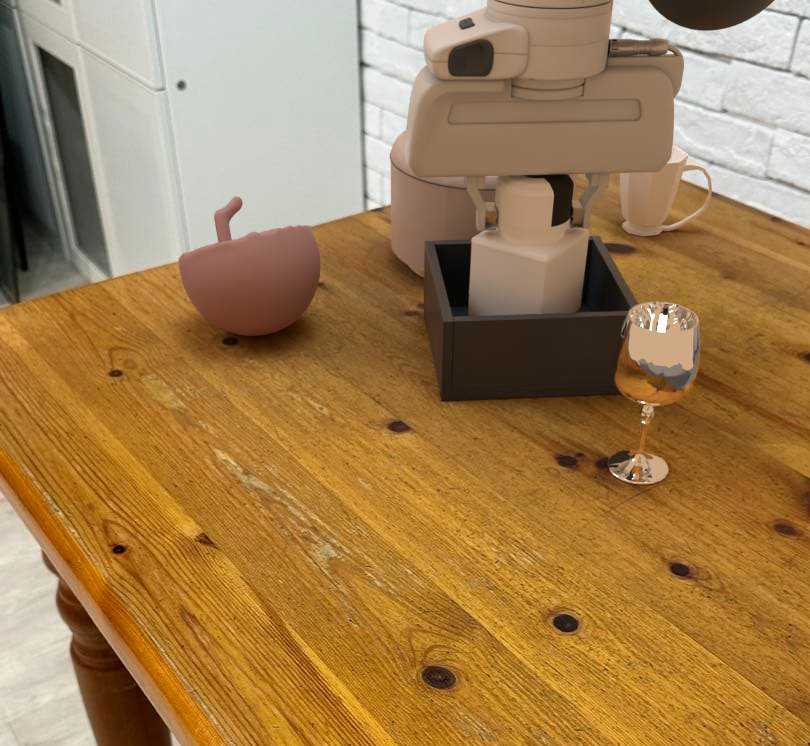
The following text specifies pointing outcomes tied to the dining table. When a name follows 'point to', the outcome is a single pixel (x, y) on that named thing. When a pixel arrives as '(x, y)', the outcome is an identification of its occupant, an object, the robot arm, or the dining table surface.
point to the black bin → (522, 333)
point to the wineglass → (653, 376)
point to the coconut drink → (252, 276)
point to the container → (430, 208)
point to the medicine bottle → (529, 251)
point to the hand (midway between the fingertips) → (531, 227)
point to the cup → (656, 196)
